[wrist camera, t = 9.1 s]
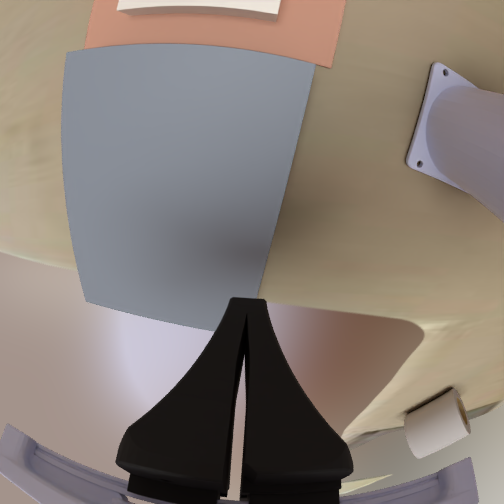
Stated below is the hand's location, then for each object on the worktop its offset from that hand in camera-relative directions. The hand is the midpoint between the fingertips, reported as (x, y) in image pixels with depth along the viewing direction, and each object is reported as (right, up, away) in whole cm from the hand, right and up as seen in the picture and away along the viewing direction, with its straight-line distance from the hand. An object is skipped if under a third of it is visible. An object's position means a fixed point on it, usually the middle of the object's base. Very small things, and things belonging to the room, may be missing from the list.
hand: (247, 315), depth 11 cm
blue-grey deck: (-5, +7, +7) cm, 11 cm away
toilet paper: (+33, -25, +27) cm, 50 cm away
